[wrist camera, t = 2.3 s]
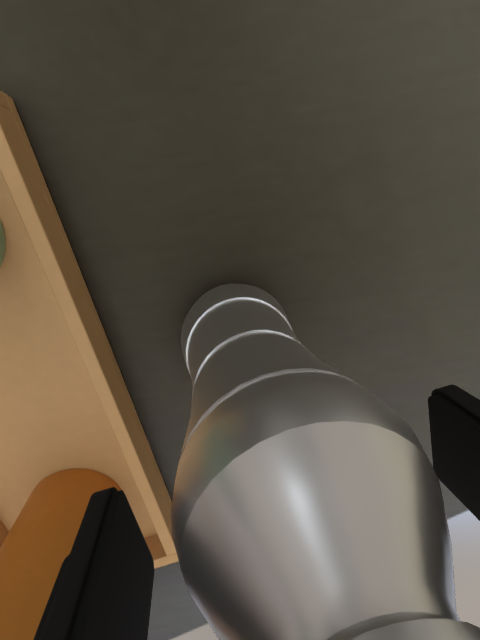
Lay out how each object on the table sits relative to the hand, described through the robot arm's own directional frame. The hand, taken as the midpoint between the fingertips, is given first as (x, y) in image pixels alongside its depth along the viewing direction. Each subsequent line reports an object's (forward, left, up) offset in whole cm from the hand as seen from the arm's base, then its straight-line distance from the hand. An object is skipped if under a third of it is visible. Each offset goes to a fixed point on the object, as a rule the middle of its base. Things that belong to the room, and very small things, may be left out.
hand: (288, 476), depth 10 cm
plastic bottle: (0, 0, -13) cm, 13 cm away
